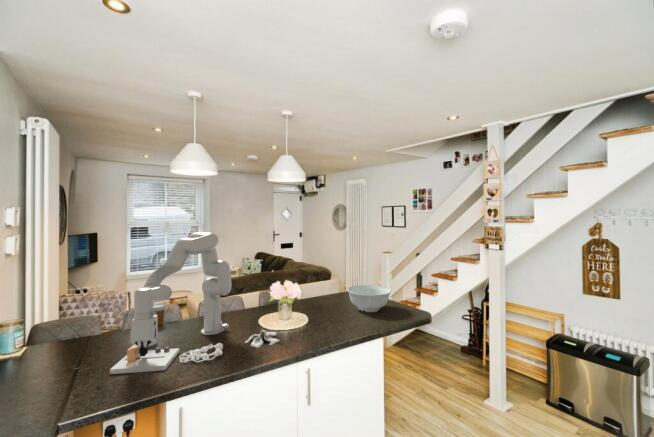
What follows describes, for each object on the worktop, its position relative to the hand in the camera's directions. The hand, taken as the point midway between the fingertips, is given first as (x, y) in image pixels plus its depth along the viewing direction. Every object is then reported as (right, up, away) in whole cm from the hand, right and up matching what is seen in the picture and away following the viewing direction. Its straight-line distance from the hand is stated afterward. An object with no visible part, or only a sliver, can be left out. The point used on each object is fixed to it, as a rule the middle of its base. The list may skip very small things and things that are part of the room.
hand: (143, 355), depth 138 cm
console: (+1, -3, 0) cm, 4 cm away
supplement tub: (-11, -4, +21) cm, 24 cm away
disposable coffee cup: (-22, -4, +50) cm, 55 cm away
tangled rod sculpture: (+25, -4, +5) cm, 26 cm away
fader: (-4, -1, -1) cm, 4 cm away
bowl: (+115, -4, +83) cm, 142 cm away
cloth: (+48, -4, +26) cm, 55 cm away
